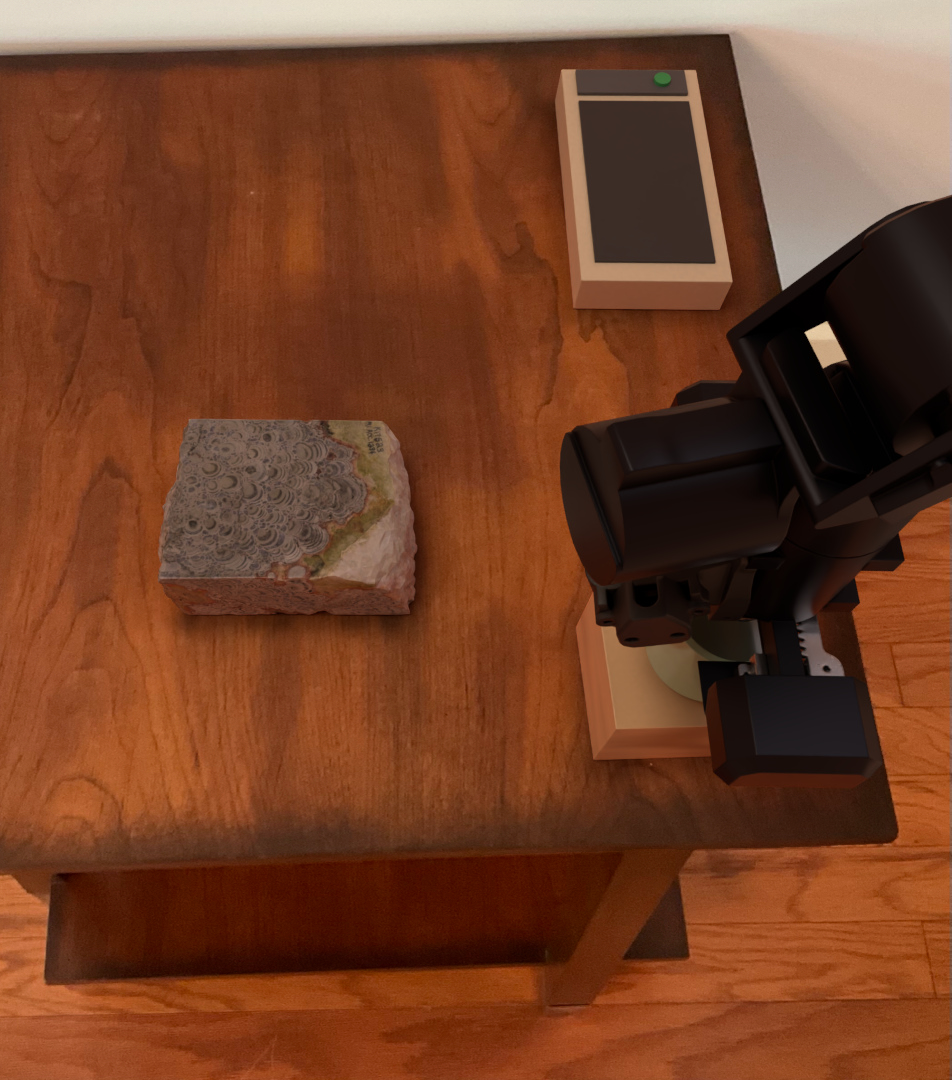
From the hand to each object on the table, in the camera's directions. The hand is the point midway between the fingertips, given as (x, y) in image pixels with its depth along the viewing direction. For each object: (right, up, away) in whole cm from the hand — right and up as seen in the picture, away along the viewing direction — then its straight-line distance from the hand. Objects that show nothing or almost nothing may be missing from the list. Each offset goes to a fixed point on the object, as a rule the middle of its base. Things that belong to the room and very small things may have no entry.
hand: (709, 639), depth 55 cm
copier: (+2, +30, +24) cm, 38 cm away
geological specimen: (-22, +5, +12) cm, 25 cm away
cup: (0, -1, +1) cm, 1 cm away
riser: (0, -4, +7) cm, 8 cm away
